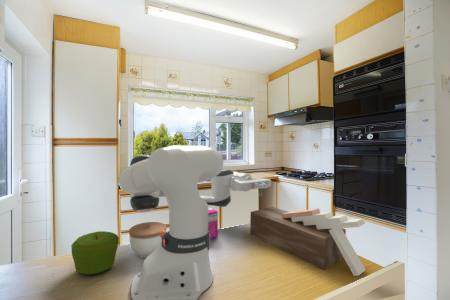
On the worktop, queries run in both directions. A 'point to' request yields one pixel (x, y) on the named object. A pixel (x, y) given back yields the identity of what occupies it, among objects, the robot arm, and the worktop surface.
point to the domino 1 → (301, 213)
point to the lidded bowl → (146, 238)
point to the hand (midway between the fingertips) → (264, 186)
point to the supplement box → (213, 223)
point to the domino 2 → (313, 217)
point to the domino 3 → (327, 220)
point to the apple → (95, 252)
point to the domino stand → (295, 237)
